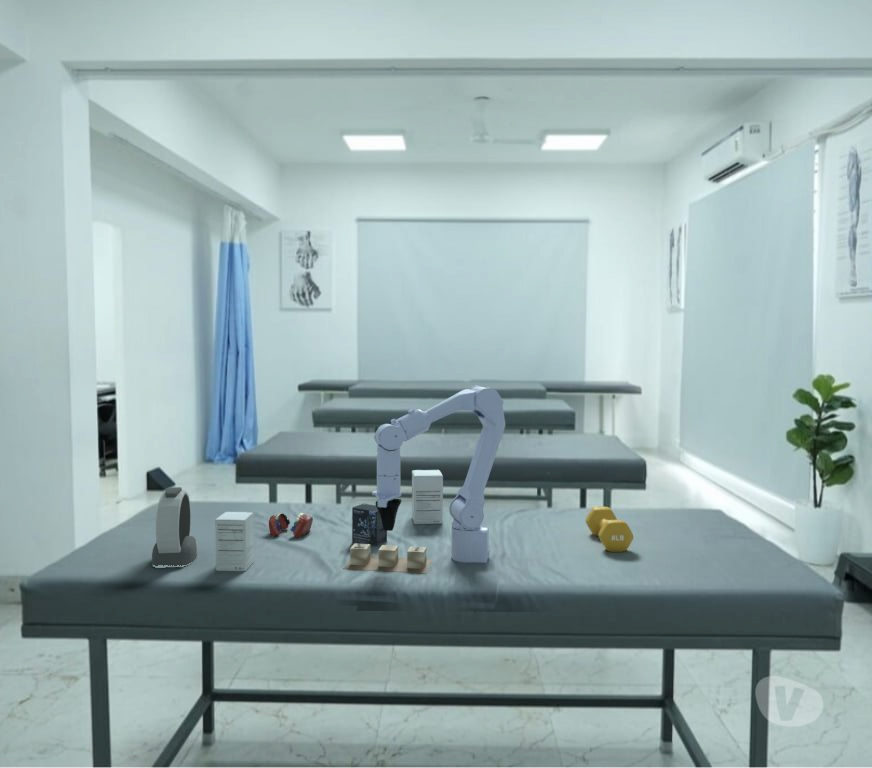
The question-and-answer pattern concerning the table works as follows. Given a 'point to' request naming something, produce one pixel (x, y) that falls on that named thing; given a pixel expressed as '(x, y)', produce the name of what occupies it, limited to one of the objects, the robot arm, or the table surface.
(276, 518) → the teeth model
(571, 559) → the table surface
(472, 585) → the table surface
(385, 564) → the plain block
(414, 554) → the block one
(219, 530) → the supplement box
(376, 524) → the box
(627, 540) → the dumbbell
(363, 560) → the letter t cube
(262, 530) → the table surface
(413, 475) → the supplement box
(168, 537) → the alarm clock
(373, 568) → the walnut board
